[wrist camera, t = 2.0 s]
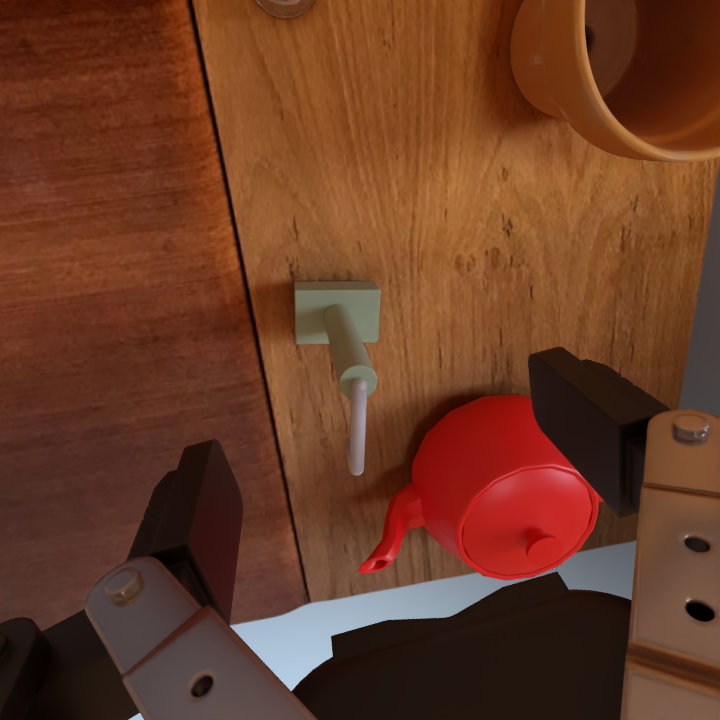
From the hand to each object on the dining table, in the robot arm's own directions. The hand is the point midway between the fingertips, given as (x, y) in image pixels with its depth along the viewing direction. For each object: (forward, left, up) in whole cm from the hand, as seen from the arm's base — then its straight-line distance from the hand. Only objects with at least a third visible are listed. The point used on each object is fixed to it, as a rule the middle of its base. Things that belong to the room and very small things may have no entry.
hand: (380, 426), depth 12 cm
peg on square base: (+1, -6, -26) cm, 27 cm away
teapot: (+14, -20, -26) cm, 36 cm away
